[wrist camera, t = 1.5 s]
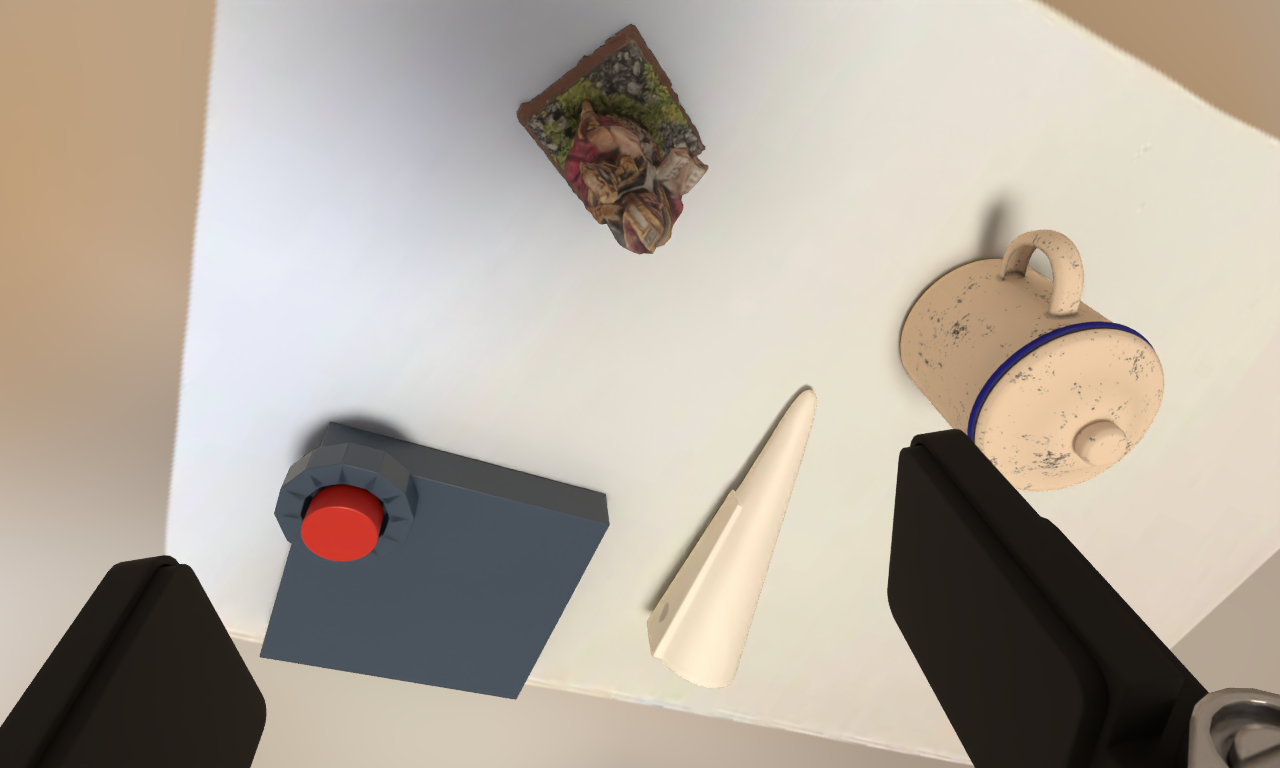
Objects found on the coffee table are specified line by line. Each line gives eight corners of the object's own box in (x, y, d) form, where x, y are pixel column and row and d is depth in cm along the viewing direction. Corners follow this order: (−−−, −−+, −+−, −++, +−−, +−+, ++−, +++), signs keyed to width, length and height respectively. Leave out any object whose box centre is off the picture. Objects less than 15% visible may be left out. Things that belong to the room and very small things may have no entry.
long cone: (875, 406, 46) (725, 636, 52) (787, 367, 45) (644, 608, 51) (914, 450, 41) (743, 700, 47) (816, 407, 39) (652, 671, 46)
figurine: (599, 224, 36) (627, 343, 26) (512, 110, 33) (506, 196, 23) (709, 145, 35) (784, 238, 25) (630, 18, 32) (679, 66, 22)
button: (302, 528, 38) (293, 552, 37) (317, 475, 37) (309, 498, 35) (374, 544, 39) (367, 568, 38) (391, 493, 38) (386, 516, 36)
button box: (254, 618, 47) (229, 680, 43) (313, 399, 39) (290, 450, 35) (516, 665, 52) (515, 724, 48) (612, 481, 44) (620, 533, 41)
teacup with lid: (1034, 385, 45) (1178, 514, 35) (886, 407, 44) (990, 545, 34) (1078, 187, 38) (1268, 276, 28) (906, 210, 38) (1040, 309, 28)
